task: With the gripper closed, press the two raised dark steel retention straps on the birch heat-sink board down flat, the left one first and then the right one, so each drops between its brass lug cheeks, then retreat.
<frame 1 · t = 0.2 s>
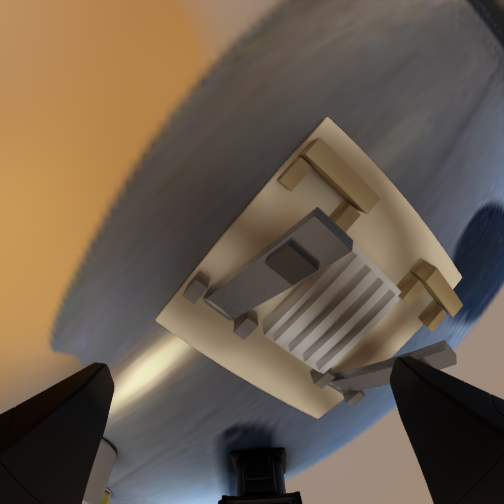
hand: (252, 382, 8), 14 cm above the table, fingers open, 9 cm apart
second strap: (262, 279, 17), point 5 cm above the table, hinge at 35.0°
heatsink board: (325, 297, 23), on the table
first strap: (386, 373, 20), point 5 cm above the table, hinge at 35.0°
beverage can: (97, 442, 29), on the table
supplement bottle: (100, 487, 34), on the table
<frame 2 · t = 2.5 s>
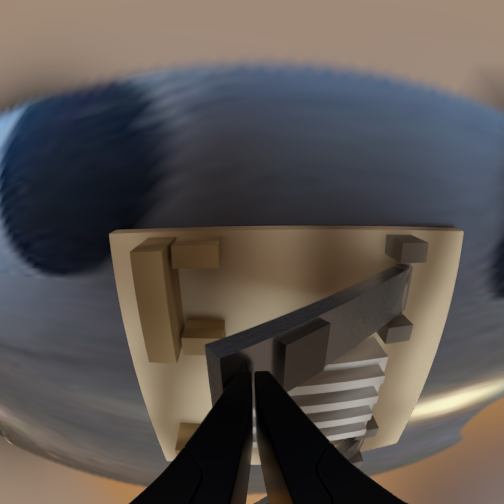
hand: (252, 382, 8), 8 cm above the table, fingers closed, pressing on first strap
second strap: (308, 483, 14), point 5 cm above the table, hinge at 35.0°
heatsink board: (295, 374, 17), on the table
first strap: (344, 324, 11), point 5 cm above the table, hinge at 35.0°, touching gripper
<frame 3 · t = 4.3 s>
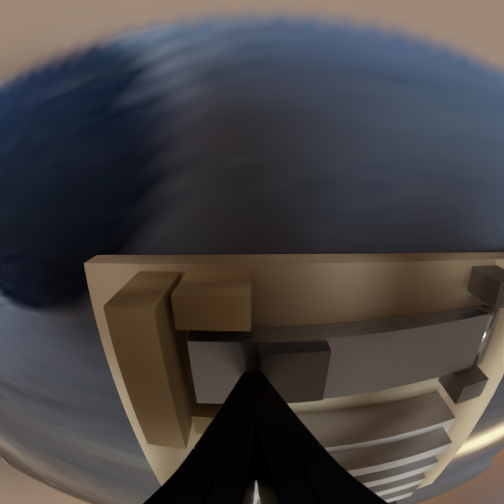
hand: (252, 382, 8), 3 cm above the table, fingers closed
heatsink board: (336, 432, 12), on the table
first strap: (373, 360, 8), point 2 cm above the table, hinge at 2.1°
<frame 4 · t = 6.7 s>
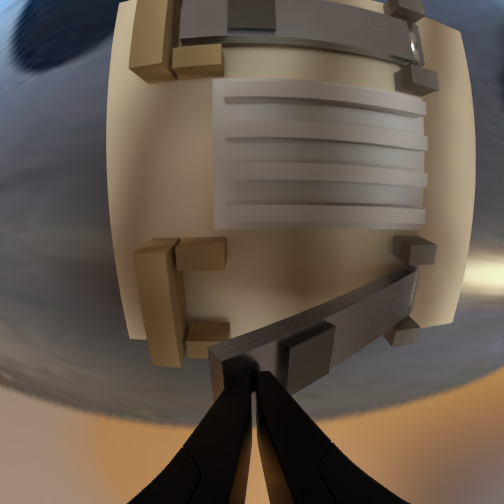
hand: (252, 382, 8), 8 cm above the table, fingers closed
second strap: (350, 327, 11), point 5 cm above the table, hinge at 33.8°, touching gripper
heatsink board: (313, 156, 13), on the table
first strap: (312, 20, 10), point 2 cm above the table, hinge at 2.5°
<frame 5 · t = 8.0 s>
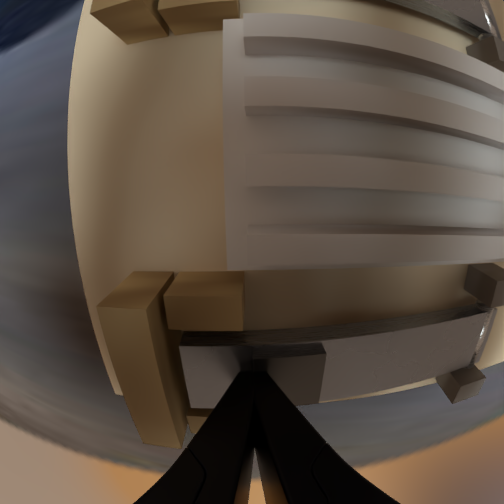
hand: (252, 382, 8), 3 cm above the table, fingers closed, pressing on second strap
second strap: (369, 361, 8), point 2 cm above the table, hinge at 3.5°, touching gripper
heatsink board: (370, 150, 9), on the table
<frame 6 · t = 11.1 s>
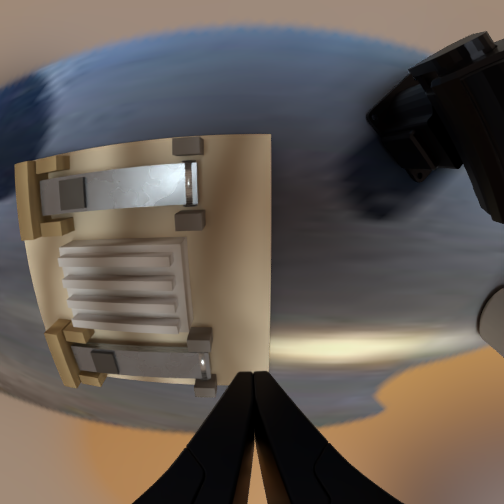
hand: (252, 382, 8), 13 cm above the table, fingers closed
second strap: (137, 362, 20), point 2 cm above the table, hinge at 2.6°
heatsink board: (134, 274, 21), on the table
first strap: (110, 189, 17), point 2 cm above the table, hinge at 2.5°
beverage can: (493, 310, 23), on the table
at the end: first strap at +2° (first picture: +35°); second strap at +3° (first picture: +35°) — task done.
